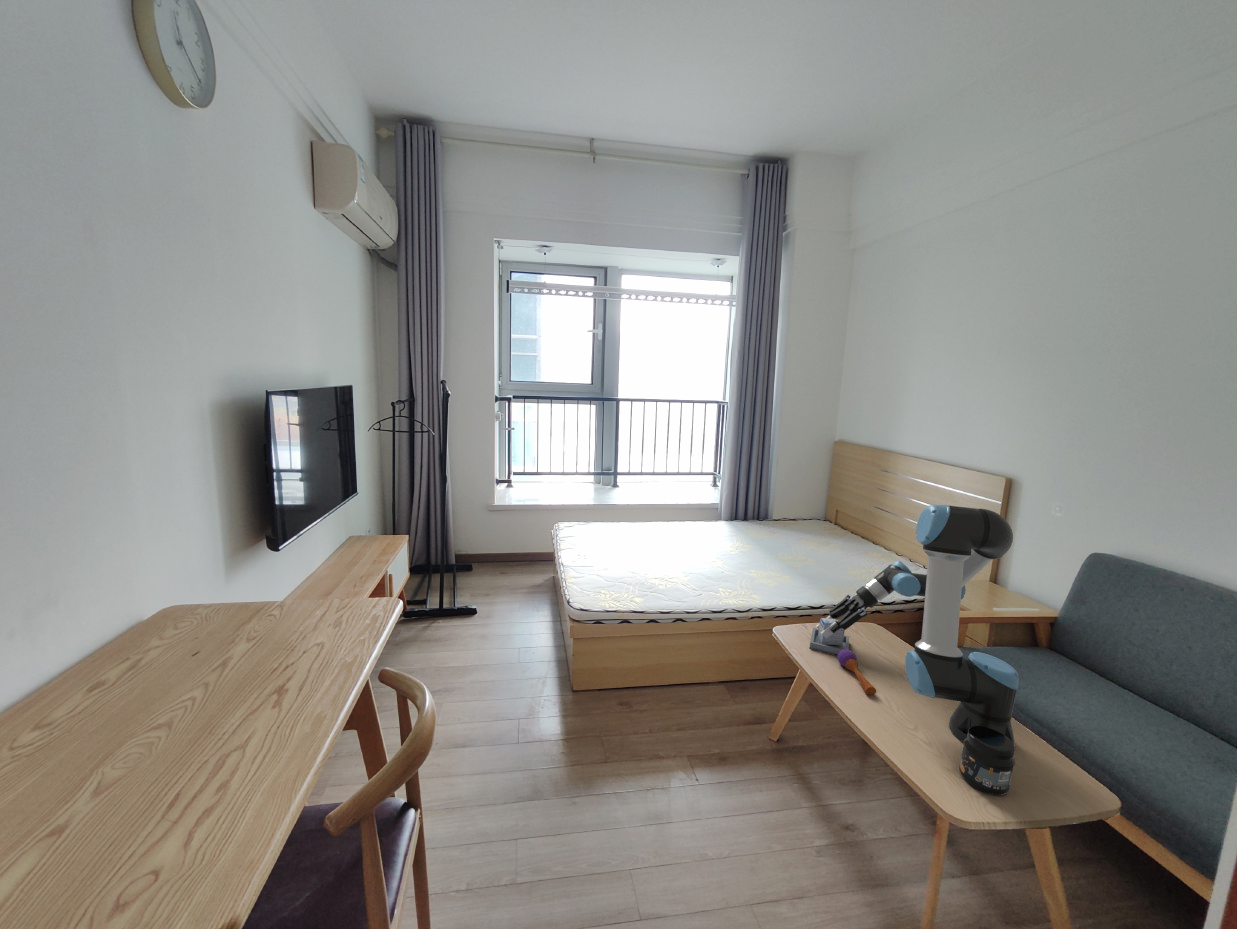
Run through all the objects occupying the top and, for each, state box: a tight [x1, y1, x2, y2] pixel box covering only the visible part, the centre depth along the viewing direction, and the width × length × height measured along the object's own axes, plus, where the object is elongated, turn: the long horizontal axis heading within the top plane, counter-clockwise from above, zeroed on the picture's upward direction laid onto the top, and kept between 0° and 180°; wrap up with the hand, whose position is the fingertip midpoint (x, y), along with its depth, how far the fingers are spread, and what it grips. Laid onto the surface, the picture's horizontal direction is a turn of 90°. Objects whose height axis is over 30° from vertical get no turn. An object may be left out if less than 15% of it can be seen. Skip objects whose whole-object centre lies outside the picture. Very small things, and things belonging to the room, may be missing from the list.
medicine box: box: [818, 617, 846, 645], centre depth 192 cm, size 8×4×9 cm, turn 89°
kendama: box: [837, 649, 877, 696], centre depth 172 cm, size 6×6×20 cm
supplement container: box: [958, 726, 1016, 796], centre depth 128 cm, size 10×10×12 cm
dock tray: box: [809, 627, 850, 657], centre depth 193 cm, size 13×13×2 cm
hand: (821, 632), depth 192 cm, fingers closed on medicine box, 4 cm apart
